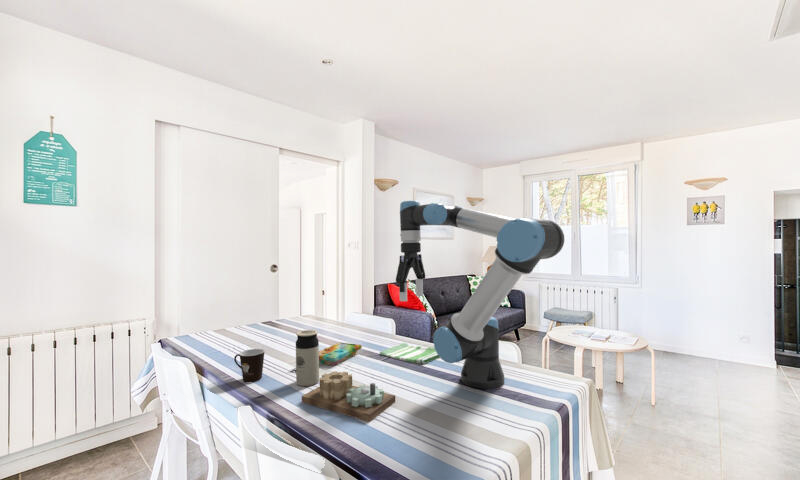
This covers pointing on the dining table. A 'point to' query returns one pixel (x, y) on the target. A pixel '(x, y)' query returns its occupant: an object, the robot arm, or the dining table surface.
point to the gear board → (348, 405)
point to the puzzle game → (338, 353)
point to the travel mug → (307, 358)
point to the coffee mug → (251, 364)
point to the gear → (365, 395)
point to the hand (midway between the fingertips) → (411, 298)
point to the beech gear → (335, 385)
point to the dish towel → (411, 353)
